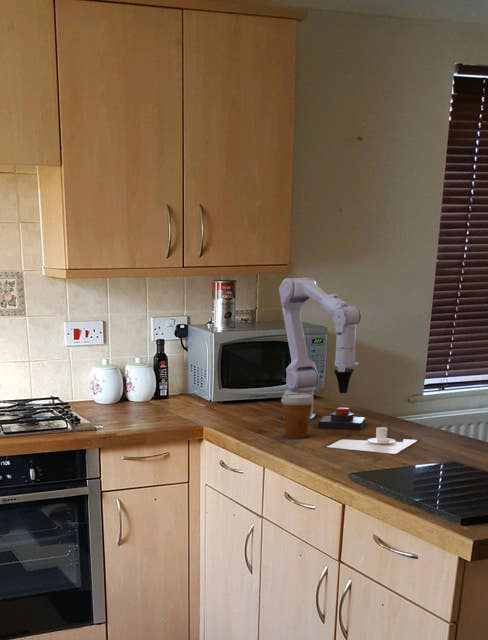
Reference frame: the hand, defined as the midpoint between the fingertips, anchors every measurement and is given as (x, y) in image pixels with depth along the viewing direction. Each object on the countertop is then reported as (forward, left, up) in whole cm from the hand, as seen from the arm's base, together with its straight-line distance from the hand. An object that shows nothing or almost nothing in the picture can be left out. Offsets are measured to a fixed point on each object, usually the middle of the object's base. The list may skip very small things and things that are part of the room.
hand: (343, 392), depth 270 cm
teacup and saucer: (+12, -24, -11) cm, 29 cm away
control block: (0, 0, -10) cm, 10 cm away
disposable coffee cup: (-11, -18, -11) cm, 24 cm away
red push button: (0, 0, -7) cm, 7 cm away
